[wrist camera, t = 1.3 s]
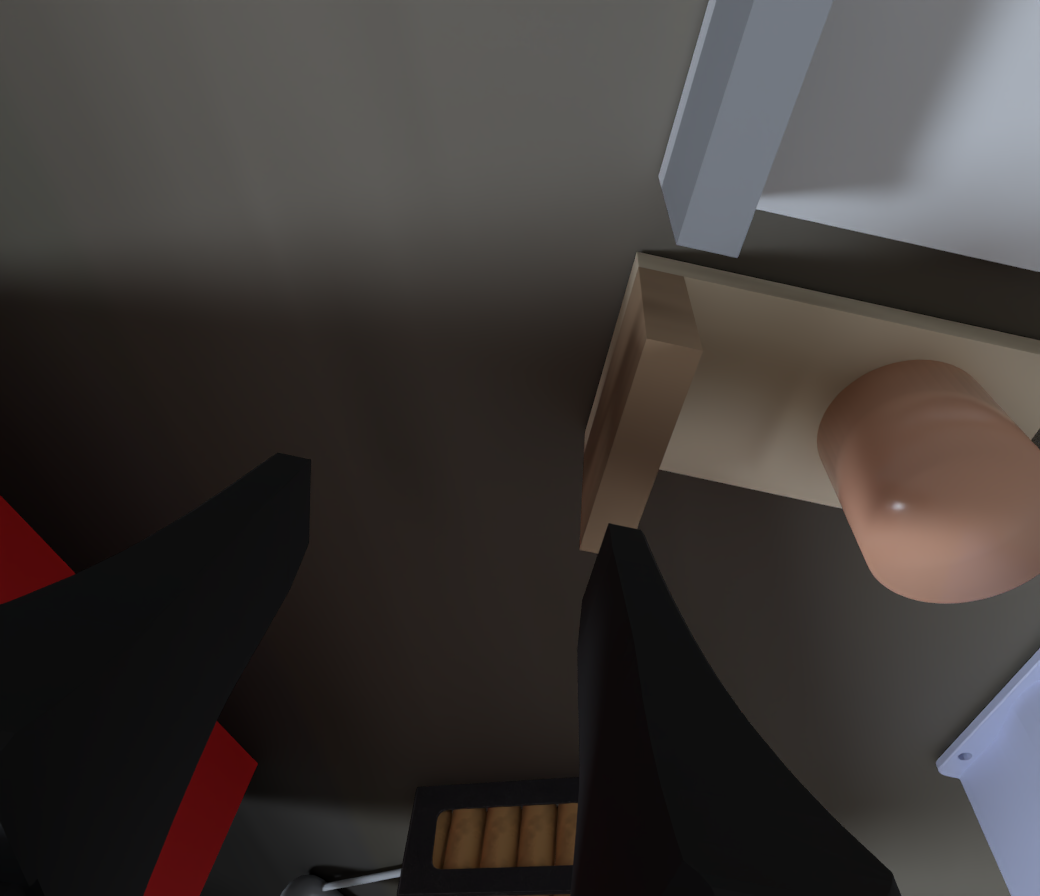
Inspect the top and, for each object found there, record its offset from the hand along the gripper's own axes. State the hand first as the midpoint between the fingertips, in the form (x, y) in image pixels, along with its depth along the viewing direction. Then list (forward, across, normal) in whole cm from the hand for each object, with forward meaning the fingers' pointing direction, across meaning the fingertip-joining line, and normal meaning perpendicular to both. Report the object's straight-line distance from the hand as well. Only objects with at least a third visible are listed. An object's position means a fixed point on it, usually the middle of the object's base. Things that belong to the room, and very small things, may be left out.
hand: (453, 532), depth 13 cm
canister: (+8, -12, 0) cm, 14 cm away
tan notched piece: (+9, -9, 0) cm, 13 cm away
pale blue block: (+9, -9, -8) cm, 15 cm away
